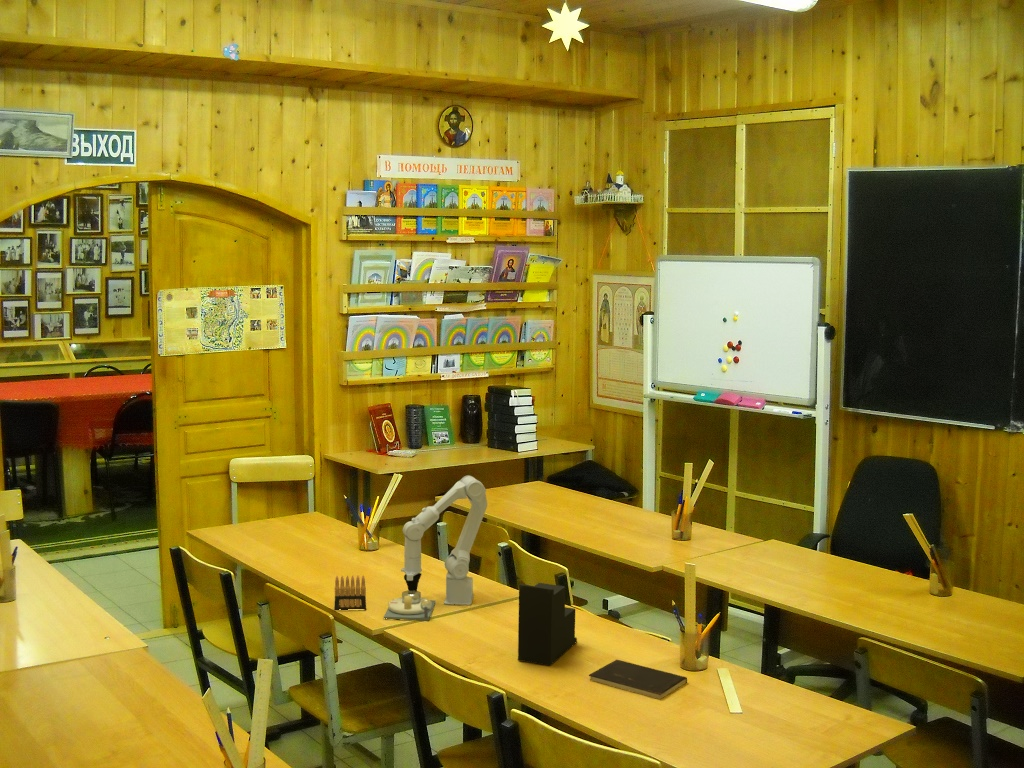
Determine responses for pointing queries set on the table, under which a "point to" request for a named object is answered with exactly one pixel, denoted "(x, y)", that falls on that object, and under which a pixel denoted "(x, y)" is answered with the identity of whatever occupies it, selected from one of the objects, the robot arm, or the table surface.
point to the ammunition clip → (350, 594)
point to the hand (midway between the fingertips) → (412, 595)
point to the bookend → (544, 623)
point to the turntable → (406, 606)
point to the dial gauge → (426, 607)
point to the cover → (414, 594)
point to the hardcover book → (638, 679)
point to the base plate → (417, 617)
